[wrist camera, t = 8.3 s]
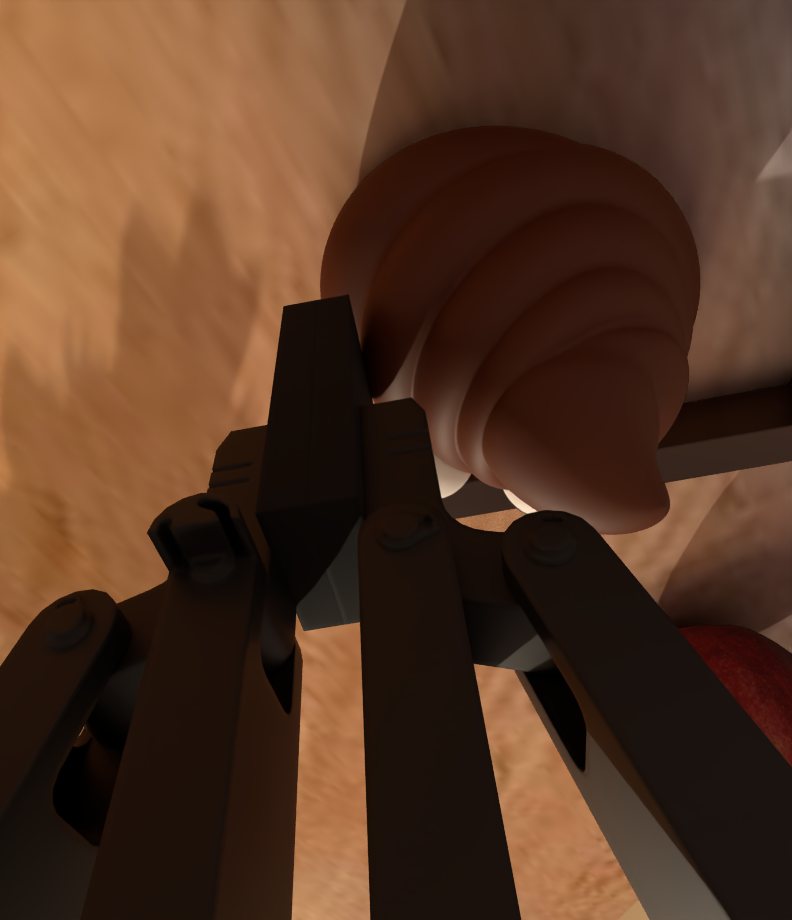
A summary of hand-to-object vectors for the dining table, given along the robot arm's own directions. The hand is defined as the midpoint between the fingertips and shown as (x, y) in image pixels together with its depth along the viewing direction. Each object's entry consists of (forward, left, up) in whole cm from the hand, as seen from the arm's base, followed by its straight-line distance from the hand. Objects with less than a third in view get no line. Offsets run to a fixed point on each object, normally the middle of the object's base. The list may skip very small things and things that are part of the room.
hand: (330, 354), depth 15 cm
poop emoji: (+1, +5, -4) cm, 6 cm away
